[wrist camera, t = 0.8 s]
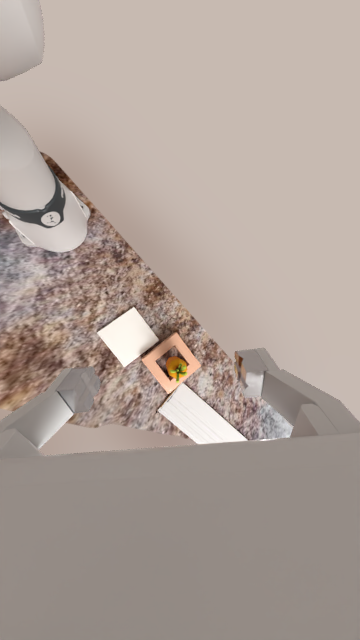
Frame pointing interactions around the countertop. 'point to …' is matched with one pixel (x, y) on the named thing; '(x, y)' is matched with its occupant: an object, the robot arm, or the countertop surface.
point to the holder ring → (161, 349)
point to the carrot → (176, 367)
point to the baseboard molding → (197, 418)
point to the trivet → (128, 336)
